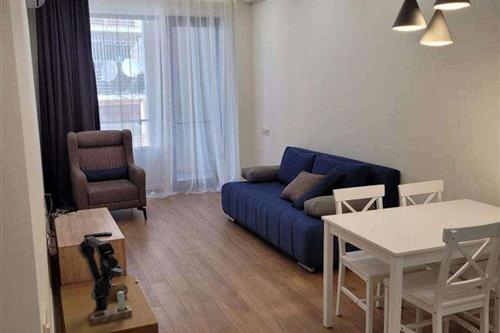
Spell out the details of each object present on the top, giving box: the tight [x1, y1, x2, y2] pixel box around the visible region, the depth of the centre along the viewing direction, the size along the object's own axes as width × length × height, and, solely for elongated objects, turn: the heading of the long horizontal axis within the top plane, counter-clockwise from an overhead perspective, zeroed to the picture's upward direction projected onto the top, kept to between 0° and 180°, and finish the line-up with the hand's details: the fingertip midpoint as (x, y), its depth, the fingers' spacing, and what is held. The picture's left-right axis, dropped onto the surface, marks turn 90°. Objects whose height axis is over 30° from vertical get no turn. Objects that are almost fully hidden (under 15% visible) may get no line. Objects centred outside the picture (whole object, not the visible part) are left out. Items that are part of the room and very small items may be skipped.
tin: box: [106, 282, 129, 300], centre depth 275 cm, size 15×3×8 cm, turn 94°
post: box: [116, 291, 126, 312], centre depth 251 cm, size 4×4×13 cm
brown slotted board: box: [90, 304, 133, 325], centre depth 250 cm, size 21×7×3 cm, turn 111°
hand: (108, 291), depth 253 cm, fingers open, 9 cm apart
